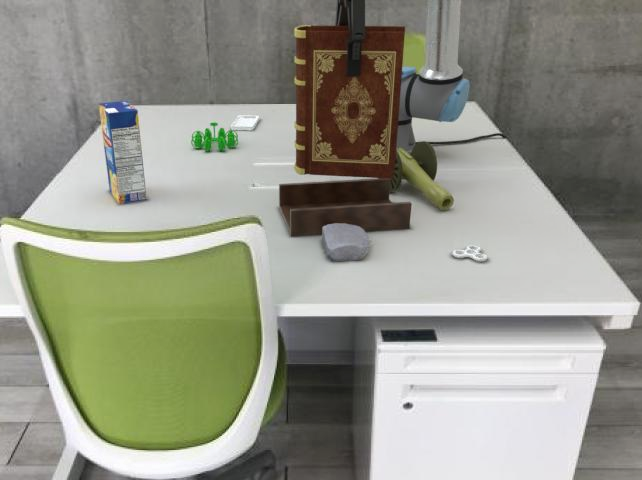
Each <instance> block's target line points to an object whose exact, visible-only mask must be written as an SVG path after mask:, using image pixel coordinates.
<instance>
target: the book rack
mask: <svg viewBox="0 0 642 480" xmlns="http://www.w3.org/2000/svg"><path fill="white" fill-rule="evenodd" d="M390 180H391V179H390V178H359V179H343V180H325V181H309V182H308V181H307V182H289V183H279V184H278V208H279V211H280V213H281V216H282V218H283V221H284V223H285V226H286V228H287V230H288V233H289V236H290V237H306V236H322V227H324V226H326V225H328V224H334V223H339V224H340V223H342V224H343V223H345V224H349V225H356V226H359V227H361V228H362V229H363V230H364V231H365V232H366V233H367V232H381V231H383V232H384V231H385V232H386V231H397V230H399V231H400V230H410V228H411V226H410V225H411V217H412V216H411V215H412V206H413V205H412V204H413V203H412V202H411V201H402V202H392V200H390V193H391V192H390Z"/></svg>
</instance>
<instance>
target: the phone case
mask: <svg viewBox="0 0 642 480" xmlns="http://www.w3.org/2000/svg"><path fill="white" fill-rule="evenodd" d="M260 117H261V116H260V115H258V114H254V115H252V114H238V115H237V117H236V118H235V119H234V121H233V122H232V123H231V125H230V130H234V131H254V129H255V128H256V126H257V125H258V123H259V122H260V120H261V119H260Z"/></svg>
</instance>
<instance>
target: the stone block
mask: <svg viewBox="0 0 642 480" xmlns="http://www.w3.org/2000/svg"><path fill="white" fill-rule="evenodd" d="M321 241H322V244H323V247H324V251H325V254H326V257H327V259H329V260H330V261H331V262H337V261H339V262H344V261H359V260H362V259H364V257H365V256H366V255H367V254H368V253H369V251H370V249H371V238H370V237H369V236H368V233H367V232H365V231H364V230H363V229H362V228H361V227H359V226H356V225H349V224H345V223H343V224H342V223H340V224H339V223H334V224H328V225H326V226H324V227H322V235H321Z"/></svg>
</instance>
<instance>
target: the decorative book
mask: <svg viewBox="0 0 642 480" xmlns="http://www.w3.org/2000/svg"><path fill="white" fill-rule="evenodd" d="M293 34H294V36H293V37H295V56H294V60H293V61H294V63H295V76H294V79H293V80H294V81H293V82H294V84H295V121H294V130H295V140H294V142H293V143H294V148H295V162H294V166H293V167H294V172H295V173H296V174H298V175H301V176H303V175H304V176H305V175H309V176H325V177H327V176H330V177H346V178H347V177H348V178H366V179H377V178H393V176H394V169H395V160H396V146H397V133H398V119H399V105H400V92H401V78H402V67H403V64H404V63H403V62H404V49H405V48H404V47H405V35H406V26H399V25H398V26H397V25H395V26H393V25H365V40H363V41H362V47H361V68H360V76H358V77H347V76H346V72H347V47H348V43H346V40H347V39H349V27H348V26H335V25H311V24H302V25H299V26H296V27H295V28H294V33H293Z"/></svg>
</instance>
